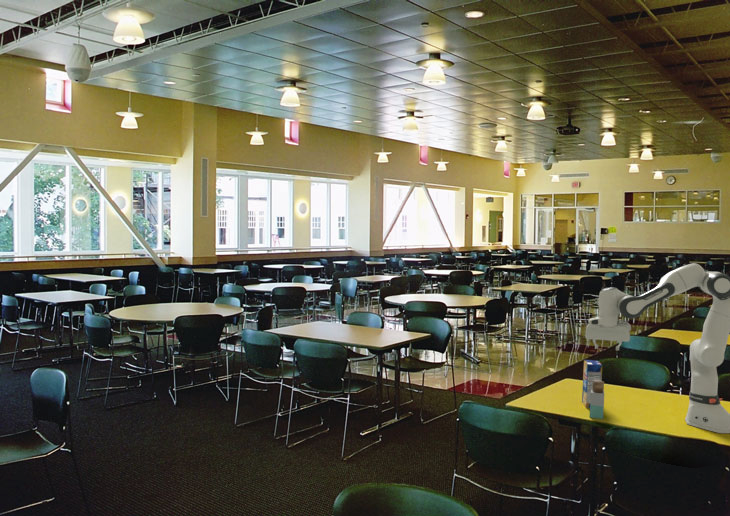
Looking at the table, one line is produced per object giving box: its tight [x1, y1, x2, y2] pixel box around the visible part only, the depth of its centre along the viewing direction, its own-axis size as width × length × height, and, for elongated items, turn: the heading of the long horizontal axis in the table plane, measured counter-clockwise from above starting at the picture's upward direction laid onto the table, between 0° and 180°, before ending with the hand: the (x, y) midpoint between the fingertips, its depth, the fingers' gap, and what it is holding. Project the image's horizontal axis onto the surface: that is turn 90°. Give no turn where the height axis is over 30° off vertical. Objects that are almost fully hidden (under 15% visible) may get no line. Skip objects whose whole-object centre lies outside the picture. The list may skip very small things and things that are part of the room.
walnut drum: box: [592, 380, 605, 393], centre depth 297 cm, size 5×5×5 cm
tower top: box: [590, 390, 605, 407], centre depth 297 cm, size 6×6×6 cm
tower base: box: [589, 405, 605, 420], centre depth 297 cm, size 6×6×6 cm
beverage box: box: [581, 359, 603, 409], centre depth 316 cm, size 7×11×22 cm, turn 171°
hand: (606, 349), depth 300 cm, fingers open, 8 cm apart
